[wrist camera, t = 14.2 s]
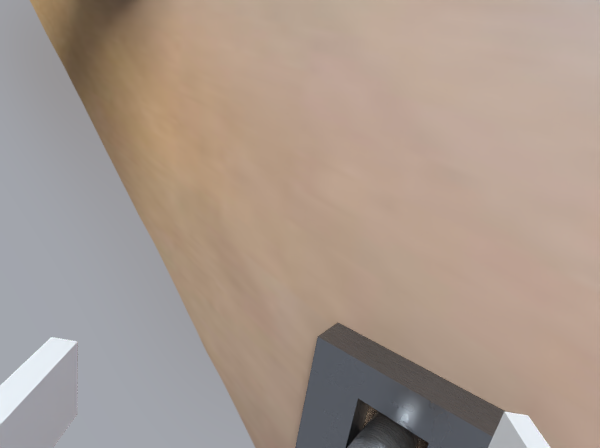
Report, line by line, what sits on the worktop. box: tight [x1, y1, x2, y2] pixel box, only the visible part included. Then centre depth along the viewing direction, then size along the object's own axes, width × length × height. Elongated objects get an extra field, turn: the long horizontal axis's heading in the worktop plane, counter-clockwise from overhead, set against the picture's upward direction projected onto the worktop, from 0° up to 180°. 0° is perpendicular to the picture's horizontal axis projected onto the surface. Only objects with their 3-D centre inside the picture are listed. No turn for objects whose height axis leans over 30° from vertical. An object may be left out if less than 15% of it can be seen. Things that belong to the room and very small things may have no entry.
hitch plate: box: [295, 323, 505, 448], centre depth 29 cm, size 11×14×3 cm
